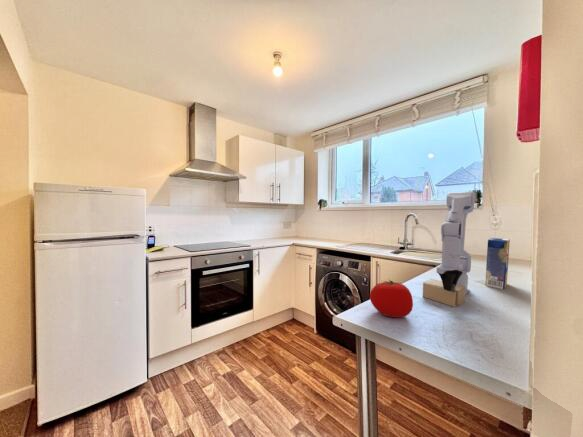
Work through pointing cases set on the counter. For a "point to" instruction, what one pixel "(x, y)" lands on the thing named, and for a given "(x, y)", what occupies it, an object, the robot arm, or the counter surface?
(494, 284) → the beverage box
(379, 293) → the tomato
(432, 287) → the carton flap
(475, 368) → the counter surface
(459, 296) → the carton
